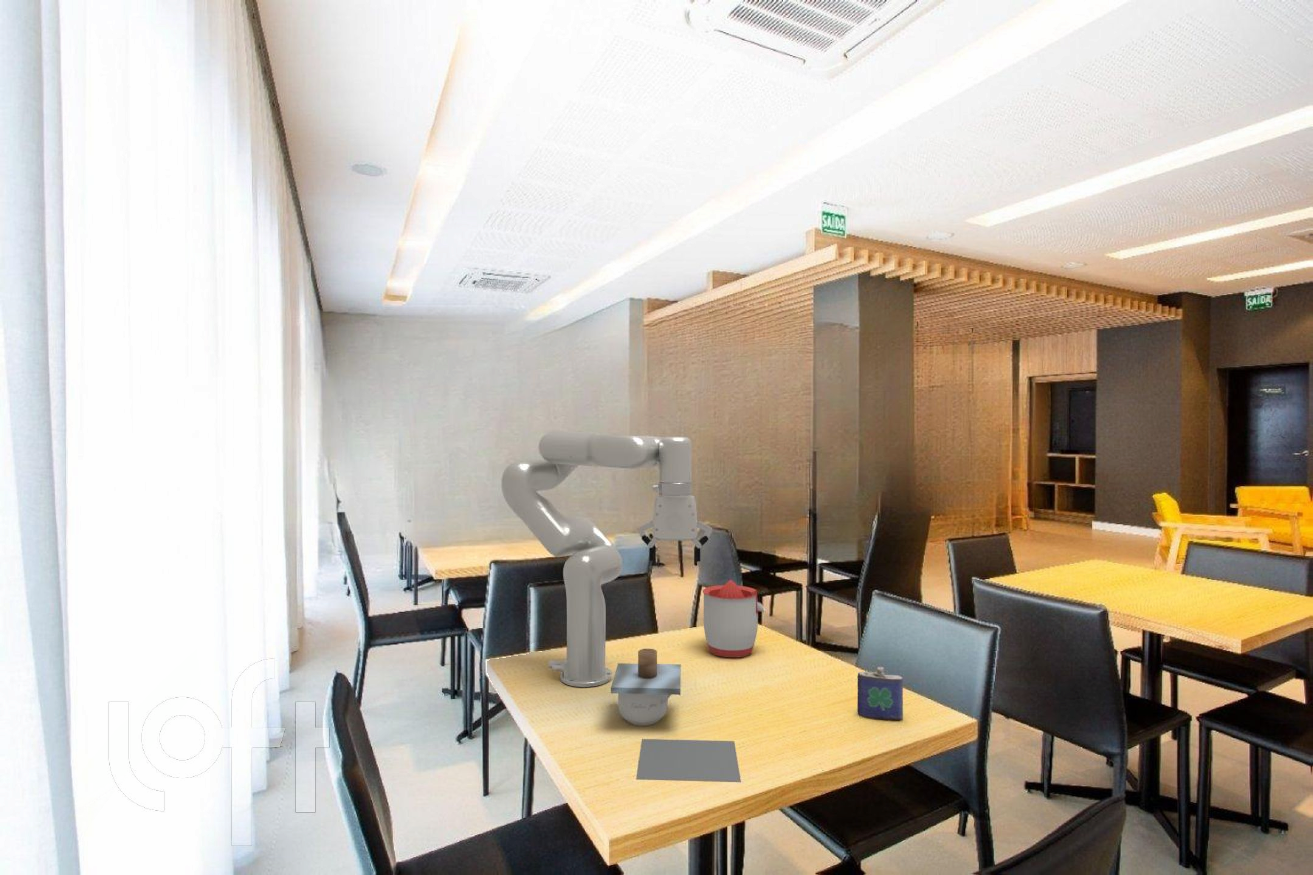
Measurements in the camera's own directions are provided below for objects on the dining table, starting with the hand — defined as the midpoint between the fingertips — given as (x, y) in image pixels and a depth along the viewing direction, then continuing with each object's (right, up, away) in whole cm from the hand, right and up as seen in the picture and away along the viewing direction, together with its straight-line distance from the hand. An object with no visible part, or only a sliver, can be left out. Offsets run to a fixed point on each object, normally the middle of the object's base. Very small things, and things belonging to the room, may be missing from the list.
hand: (674, 564), depth 148 cm
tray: (+2, -30, -30) cm, 43 cm away
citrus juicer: (+17, -31, +31) cm, 47 cm away
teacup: (-6, -31, -12) cm, 33 cm away
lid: (-6, -22, -12) cm, 26 cm away
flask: (+44, -31, -11) cm, 54 cm away
